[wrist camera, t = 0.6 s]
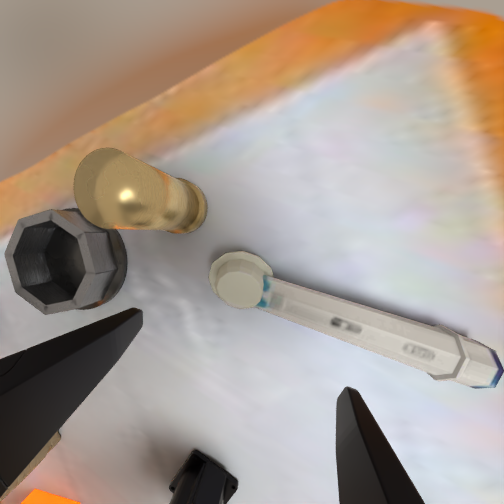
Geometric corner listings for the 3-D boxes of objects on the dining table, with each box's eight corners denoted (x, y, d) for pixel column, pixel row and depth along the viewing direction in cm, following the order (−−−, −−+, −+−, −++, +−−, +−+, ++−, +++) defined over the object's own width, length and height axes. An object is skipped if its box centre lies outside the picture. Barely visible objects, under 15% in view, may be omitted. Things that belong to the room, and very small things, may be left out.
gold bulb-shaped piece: (191, 243, 23) (123, 250, 14) (151, 216, 24) (57, 204, 14) (216, 198, 23) (163, 171, 13) (174, 171, 23) (91, 125, 13)
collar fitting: (100, 325, 26) (70, 341, 22) (28, 272, 27) (-13, 279, 23) (144, 244, 24) (118, 246, 21) (64, 190, 25) (25, 182, 22)
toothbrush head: (488, 410, 17) (189, 312, 16) (423, 357, 23) (208, 287, 23) (520, 352, 16) (208, 249, 16) (444, 315, 23) (223, 241, 22)
